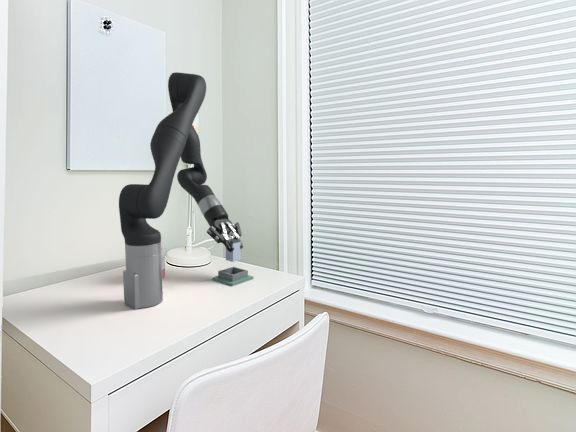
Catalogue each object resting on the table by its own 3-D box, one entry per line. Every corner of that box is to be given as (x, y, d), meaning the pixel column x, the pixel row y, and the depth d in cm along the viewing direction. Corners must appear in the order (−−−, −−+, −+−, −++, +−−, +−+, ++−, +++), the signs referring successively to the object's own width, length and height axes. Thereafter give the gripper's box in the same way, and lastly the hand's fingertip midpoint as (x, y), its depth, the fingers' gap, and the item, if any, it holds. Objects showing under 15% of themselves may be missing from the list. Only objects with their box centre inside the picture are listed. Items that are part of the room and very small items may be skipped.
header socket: (232, 286, 109) (232, 277, 108) (212, 279, 115) (212, 271, 114) (253, 278, 116) (253, 270, 116) (233, 272, 122) (233, 265, 122)
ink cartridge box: (151, 275, 118) (150, 234, 116) (165, 275, 117) (164, 235, 116) (140, 283, 109) (138, 239, 107) (155, 284, 109) (154, 240, 107)
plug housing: (233, 262, 112) (233, 241, 111) (225, 260, 114) (225, 240, 113) (240, 259, 115) (240, 240, 114) (233, 257, 117) (233, 238, 116)
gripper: (201, 205, 111) (226, 246, 106) (232, 202, 122) (256, 239, 117) (192, 219, 115) (215, 260, 110) (223, 215, 126) (245, 252, 121)
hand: (236, 249), depth 113 cm, fingers closed on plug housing, 3 cm apart
